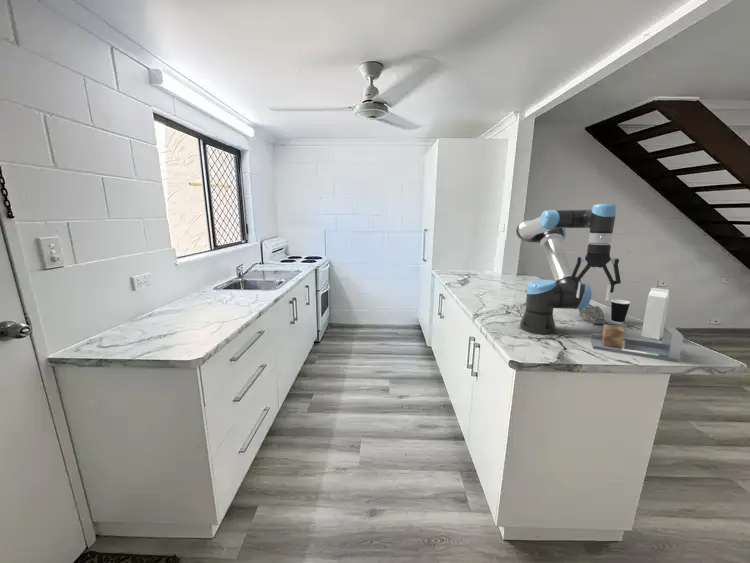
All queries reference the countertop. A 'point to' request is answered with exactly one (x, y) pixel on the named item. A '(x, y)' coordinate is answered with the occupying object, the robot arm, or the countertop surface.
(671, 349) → the grey metal block
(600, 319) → the rock
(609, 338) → the block
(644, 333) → the milk
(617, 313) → the dixie cup
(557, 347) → the countertop surface
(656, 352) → the gauge track
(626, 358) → the countertop surface
